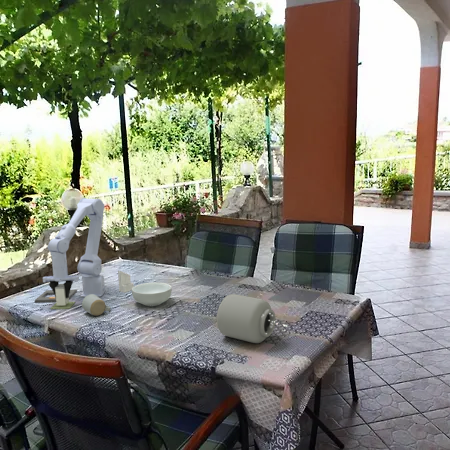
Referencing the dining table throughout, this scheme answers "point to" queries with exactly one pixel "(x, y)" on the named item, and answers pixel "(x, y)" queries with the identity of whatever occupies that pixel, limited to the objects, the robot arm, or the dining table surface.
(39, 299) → the grey square frame
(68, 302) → the rubber mat
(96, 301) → the ceramic mug
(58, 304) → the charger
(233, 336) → the jar
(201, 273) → the dining table surface
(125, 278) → the white wedge bracket
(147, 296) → the cereal bowl
